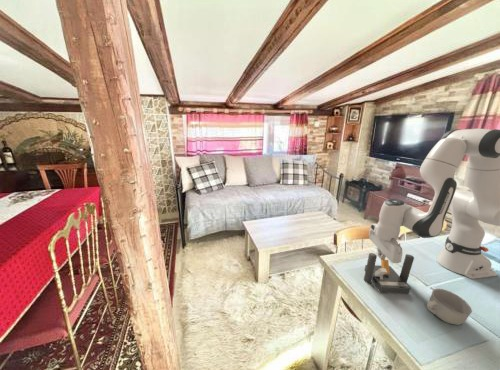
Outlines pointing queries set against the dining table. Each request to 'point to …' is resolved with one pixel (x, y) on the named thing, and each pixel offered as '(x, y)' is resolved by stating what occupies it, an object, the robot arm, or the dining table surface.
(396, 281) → the black flat block
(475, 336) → the dining table surface
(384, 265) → the paddle centre
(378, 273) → the paddle right
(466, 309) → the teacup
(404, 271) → the post
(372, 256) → the post
